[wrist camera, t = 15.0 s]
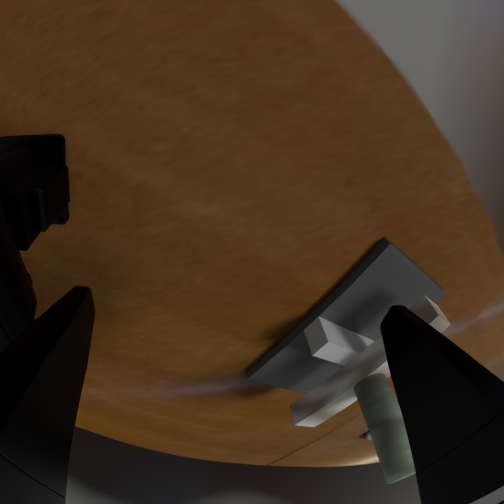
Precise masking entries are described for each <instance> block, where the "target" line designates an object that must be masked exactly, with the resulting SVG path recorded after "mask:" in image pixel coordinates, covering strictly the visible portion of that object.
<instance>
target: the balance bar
mask: <svg viewBox="0 0 504 504" xmlns="http://www.w3.org/2000/svg"><path fill="white" fill-rule="evenodd" d="M410 310H411V311H412V312H413V313H415V314H416V315H417V316H419V317H420V318H421V319H423V320H424V321H425V322H427V323H428V324H429V325H431V326H432V327H433V328H435V329H436V330H437V331H439V332H440V333H442V332H443V331H444V330H445V329H446V328H448V327H449V326H450V325H451V324H450V323H449V321H448V320H447V319H446V317H445V316H444V314H443V313H442V311H441V310H440V309H439V307H438V306H437V305H436V304H435V303H434V302H432V301H431V300H430V299H429V298H427V297H426V296H425V295H424V296H423V297H422V298H421V299H420V300H419V301H418V302H417V303H416V304H415V305H414V306H413V307H412V308H411V309H410ZM390 376H391V374H390V371H389V367H388V363H387V358H386V353H385V348H384V344H383V339H382V335H381V336H380V337H379V338H378V339H376V340H375V341H374V342H373V343H372V344H371V345H369V346H368V347H367V348H366V349H365V350H363V351H362V352H361V353H360V354H358V355H357V356H356V357H355V358H354V359H352V360H351V361H350V362H349V363H347V364H346V365H345V366H343V367H342V368H341V369H340V370H338V371H337V372H336V373H334V374H333V375H332V376H330V377H329V378H328V379H326V380H325V381H324V382H322V383H321V384H320V385H318V386H317V387H315V388H314V389H313V390H311V391H310V392H308V393H307V394H306V395H304V396H303V397H301V398H300V399H298V400H297V401H296V402H294V403H293V404H291V405H290V408H291V412H292V417H293V421H294V425H299V426H308V427H315V426H317V425H319V424H320V423H322V422H324V421H325V420H327V419H329V418H330V417H332V416H333V415H335V414H337V413H338V412H340V411H341V410H343V409H344V408H346V407H347V406H349V405H350V404H352V403H353V402H355V401H356V400H358V402H359V405H360V408H361V410H362V413H363V416H364V418H365V421H366V424H367V427H368V429H369V432H370V435H371V438H372V441H373V443H374V446H375V449H376V452H377V455H378V458H379V461H380V464H381V467H382V470H383V473H384V475H385V478H386V481H387V484H391V483H394V482H396V481H399V480H401V479H404V478H406V477H408V476H410V475H412V474H414V473H416V472H415V467H414V463H413V458H412V454H411V449H410V445H409V441H408V437H407V433H406V429H405V425H404V421H403V417H402V413H401V410H400V407H399V405H398V403H397V401H396V398H395V396H394V394H393V392H392V389H391V387H390V385H389V383H388V380H387V378H388V377H390Z"/></svg>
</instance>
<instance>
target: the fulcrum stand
mask: <svg viewBox="0 0 504 504" xmlns="http://www.w3.org/2000/svg"><path fill="white" fill-rule="evenodd" d="M444 294H445V292H444V291H443V289H442V288H441V287H440V286H439V285H438V284H437V283H436V282H435V281H434V280H433V279H432V278H430V277H429V276H428V275H427V274H426V273H425V272H424V271H423V270H422V269H421V268H420V267H419V266H417V265H416V264H415V263H414V262H413V261H412V260H411V259H410V258H409V257H408V256H406V255H405V254H404V253H403V252H402V251H401V250H400V249H398V248H397V247H396V246H395V245H394V244H393V243H392V242H390V241H389V240H388V239H387V238H386V237H385V238H384V239H383V240H382V241H381V242H380V243H379V244H378V245H377V247H376V248H375V249H374V250H373V251H372V252H371V253H370V254H369V255H368V256H367V257H366V258H365V259H364V260H363V261H362V262H361V264H360V265H359V266H358V267H357V268H356V269H355V270H354V271H353V272H352V273H351V274H350V275H349V276H348V277H347V278H346V279H345V280H344V281H343V282H342V283H341V284H340V285H339V286H338V287H337V288H336V289H335V290H334V291H333V292H332V293H331V294H330V295H329V296H328V297H327V298H326V299H325V300H324V301H323V302H322V303H321V304H320V305H319V306H318V307H317V308H316V309H315V310H314V311H313V312H312V313H311V314H310V315H308V316H307V317H306V318H305V319H304V320H303V321H302V322H301V323H300V324H299V325H298V326H297V327H296V328H295V329H294V330H293V331H291V332H290V333H289V334H288V335H287V336H286V337H285V338H284V339H283V340H282V341H280V342H279V343H278V344H277V345H276V346H275V347H274V348H273V349H272V350H270V351H269V352H268V353H267V354H266V355H265V356H264V357H263V358H261V359H260V360H259V361H258V362H257V363H256V364H255V365H253V366H252V367H251V368H250V369H249V370H248V371H246V375H247V379H248V380H252V381H256V382H260V383H264V384H268V385H272V386H276V387H280V388H284V389H289V390H293V391H298V392H302V393H308V392H310V391H311V390H313V389H314V388H315V387H317V386H318V385H320V384H321V383H322V382H324V381H325V380H326V379H328V378H329V377H330V376H332V375H333V374H334V373H336V372H337V371H338V370H340V369H341V368H342V367H343V366H345V365H346V364H347V363H349V362H350V361H351V360H352V359H354V358H355V357H356V356H357V355H358V354H360V353H361V352H362V351H363V350H365V349H366V348H367V347H368V346H369V345H371V344H372V343H373V342H374V341H375V340H376V339H378V338H379V337H380V336H381V330H380V325H381V322H382V320H383V318H384V317H385V315H386V313H387V312H388V310H389V308H390V307H391V306H392V305H403V306H405V307H406V308H408V309H409V310H410V309H411V308H412V307H413V306H414V305H415V304H416V303H417V302H418V301H419V300H420V299H421V298H422V297H423V296H424V295H425V296H426V297H427V298H429V299H430V300H431V301H432V302H434V303H436V302H437V301H438V300H439V299H440V298H441V297H442V296H443V295H444Z"/></svg>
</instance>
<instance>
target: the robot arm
mask: <svg viewBox="0 0 504 504" xmlns="http://www.w3.org/2000/svg"><path fill="white" fill-rule="evenodd" d="M56 139H57V140H59V143H60V144H59V145H57V144H56ZM69 201H70V194H69V176H68V167H67V165H66V162H65V138H64V137H63V136H62V135H60V134H44V135H21V136H6V137H0V504H65V496H66V486H67V476H68V467H69V459H70V452H71V445H72V439H73V432H74V427H75V421H76V416H77V411H78V406H79V401H80V396H81V392H82V387H83V383H84V378H85V374H86V369H87V364H88V358H89V350H90V343H91V337H92V330H93V324H94V319H95V308H94V303H93V297H92V292H91V289H90V288H89V287H84V286H75V287H74V288H73V289H71V290H70V291H69V292H68V293H67V294H65V295H64V296H63V297H62V298H61V299H59V300H58V301H57V302H56V303H55V304H54V305H52V306H51V307H50V308H49V309H48V310H47V311H46V312H44V313H43V314H42V315H41V316H40V317H39V318H38V319H36V320H35V318H34V315H35V310H36V304H37V300H36V296H35V292H34V289H33V287H32V279H31V277H30V274H28V273H27V271H26V268H25V266H24V263H23V261H22V258H21V255H20V252H19V250H22V251H27V250H28V248H29V247H30V246H31V244H32V243H33V242H34V240H35V239H36V237H37V236H38V235H39V233H40V232H41V231H42V232H45V231H46V230H47V229H48V228H49V226H50V225H51V224H60V225H63V224H65V223H66V222H67V221H68V219H69V211H68V202H69ZM60 215H62V216H63V217H64V219H62V218H61V217H60ZM380 330H381V335H382V339H383V344H384V348H385V353H386V358H387V363H388V367H389V371H390V374H391V378H392V381H393V385H394V388H395V391H396V395H397V399H398V402H399V406H400V409H401V413H402V417H403V421H404V425H405V429H406V433H407V437H408V441H409V445H410V449H411V454H412V458H413V463H414V467H415V472H416V478H417V483H418V488H419V494H420V499H421V504H504V382H503V381H502V380H501V379H499V378H498V377H497V376H495V375H494V374H493V373H491V372H490V371H489V370H488V369H486V368H485V367H484V366H483V365H481V364H479V363H478V362H477V361H476V360H475V359H474V358H472V357H471V356H470V355H469V354H467V353H466V352H465V351H463V350H462V349H461V348H460V347H458V346H457V345H456V344H454V343H453V342H452V341H451V340H449V339H448V338H447V337H445V336H444V335H443V334H441V333H440V332H439V331H437V330H436V329H435V328H433V327H432V326H431V325H429V324H428V323H427V322H425V321H424V320H423V319H421V318H420V317H419V316H417V315H416V314H415V313H413V312H412V311H411V310H409V309H408V308H406V307H405V306H403V305H392V306H391V307H390V308H389V310H388V312H387V313H386V315H385V317H384V318H383V320H382V322H381V325H380Z"/></svg>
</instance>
